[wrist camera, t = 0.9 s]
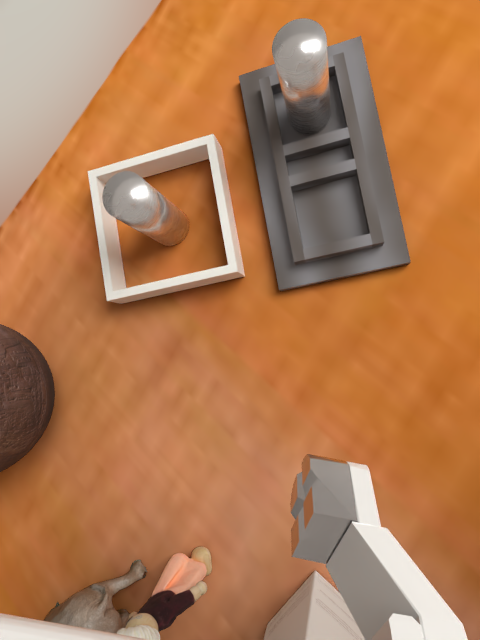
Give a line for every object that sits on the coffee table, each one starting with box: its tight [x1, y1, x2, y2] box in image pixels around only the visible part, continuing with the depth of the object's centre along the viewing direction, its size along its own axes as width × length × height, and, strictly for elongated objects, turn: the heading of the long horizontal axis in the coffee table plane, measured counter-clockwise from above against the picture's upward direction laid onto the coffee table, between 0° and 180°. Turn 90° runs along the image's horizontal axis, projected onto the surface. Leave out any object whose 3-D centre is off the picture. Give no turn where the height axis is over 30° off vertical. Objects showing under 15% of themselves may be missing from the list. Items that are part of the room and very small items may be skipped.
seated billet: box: [272, 19, 331, 135], centre depth 37 cm, size 4×4×10 cm
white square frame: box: [88, 134, 245, 304], centre depth 45 cm, size 14×14×3 cm
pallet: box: [239, 36, 410, 291], centre depth 41 cm, size 12×22×2 cm, turn 10°
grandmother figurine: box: [116, 547, 212, 640], centre depth 37 cm, size 8×4×13 cm, turn 130°
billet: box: [102, 171, 189, 246], centre depth 41 cm, size 4×4×10 cm
